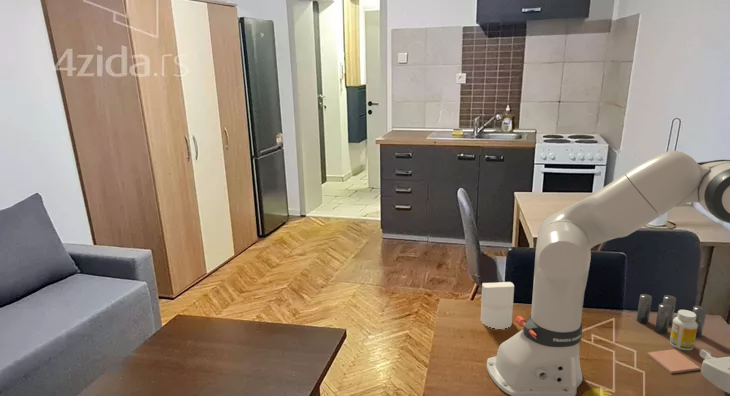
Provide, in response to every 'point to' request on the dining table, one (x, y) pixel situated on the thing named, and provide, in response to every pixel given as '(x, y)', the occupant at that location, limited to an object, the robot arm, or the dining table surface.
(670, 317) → the posts
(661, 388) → the dining table surface
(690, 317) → the supplement bottle
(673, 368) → the terracotta tile
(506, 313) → the cylinder with rectangular tab
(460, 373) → the dining table surface
